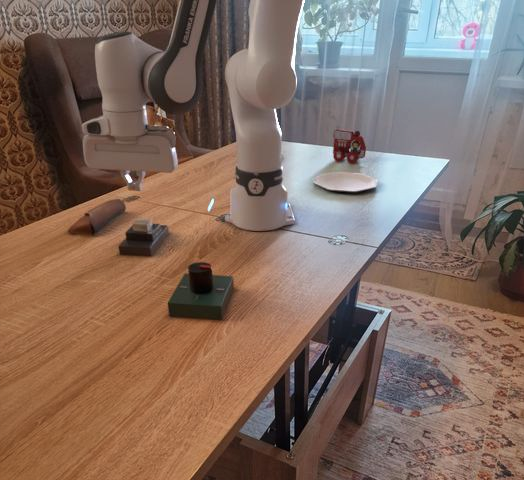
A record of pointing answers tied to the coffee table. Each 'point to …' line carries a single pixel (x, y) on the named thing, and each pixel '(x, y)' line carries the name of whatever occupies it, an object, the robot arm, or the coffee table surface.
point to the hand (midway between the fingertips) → (135, 190)
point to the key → (142, 225)
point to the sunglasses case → (97, 218)
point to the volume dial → (200, 277)
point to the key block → (143, 241)
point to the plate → (345, 182)
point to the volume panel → (201, 299)
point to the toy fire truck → (348, 146)
